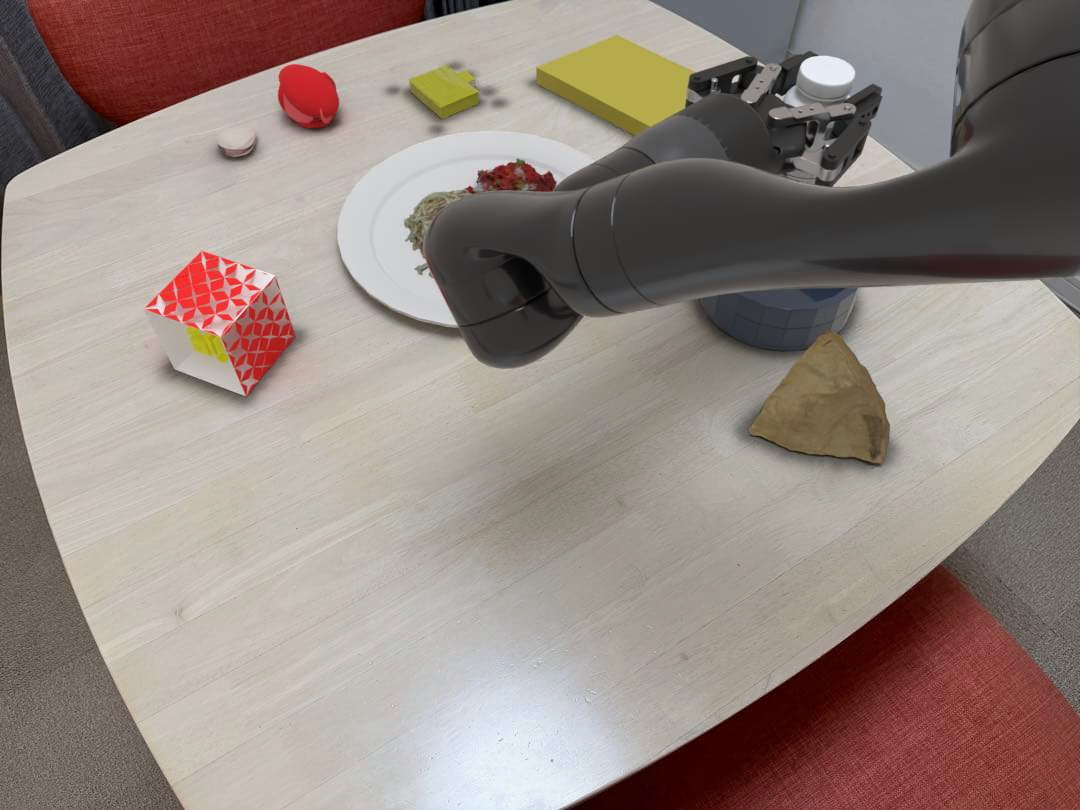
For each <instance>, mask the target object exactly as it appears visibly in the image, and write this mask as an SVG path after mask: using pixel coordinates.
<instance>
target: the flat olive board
mask: <svg viewBox="0 0 1080 810" xmlns="http://www.w3.org/2000/svg"><path fill="white" fill-rule="evenodd" d="M535 68H536V69H535V72H536V73H535V74H536V75H535V76H536V77H535V79H536V85H538V86H540V87H542V88H544V89H546V90H548V91H549V92H552V93H554V94H555V95H557V96H559V97H560V98H563V99H564V100H566V101H568V102H570V103H572V104H574V105H576V106H578V107H580V108H581V109H583V110H586V111H587V112H590V113H591V114H593V115H595V116H596V117H598V118H601V119H602V120H604V121H606V122H608V123H610V124H612V125H613V126H616V127H617V128H619V129H621V130H623V131H625V132H627V133H629V134H631V135H633V137H634V136H636V135H637V134H639V133H640V132H642V131H644V130H646V129H648V128H649V127H651V126H653V125H655V124H657V123H659V122H661V121H662V120H664V119H666V118H668V117H670V116H671V115H673V114H675V113H677V112H679V111H681V110H682V109H684V108H686V107H685V103H686V94H687V87H688V82H689V76H690V75H691V74H693V73H696V71H694V70H691V69H689V68H687V67H686V66H683V65H681V64H679V63H677V62H674V61H672V59H668V58H666V57H664V56H662V55H660V54H658V53H657V52H653V51H651V50H649V49H647V48H645V47H643V46H641V45H639V44H637V43H635V42H633V41H631V40H628V39H627V38H624V37H622V36H620V35H618V34H615V35H613V36H610V37H608V38H606V39H603V40H600V41H598V42H596V43H593V44H590V45H588V46H585V47H583V48H580V49H578V50H576V51H573V52H570V53H568V54H566V55H563V56H561V57H558V58H556V59H553V60H551V61H548V62H546V63H544V64H540V65H539V66H536V67H535Z"/></svg>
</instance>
